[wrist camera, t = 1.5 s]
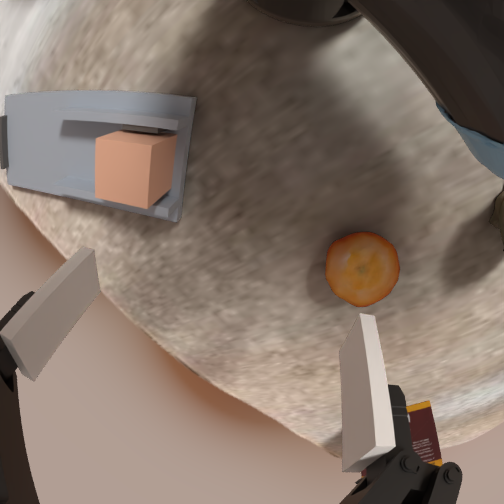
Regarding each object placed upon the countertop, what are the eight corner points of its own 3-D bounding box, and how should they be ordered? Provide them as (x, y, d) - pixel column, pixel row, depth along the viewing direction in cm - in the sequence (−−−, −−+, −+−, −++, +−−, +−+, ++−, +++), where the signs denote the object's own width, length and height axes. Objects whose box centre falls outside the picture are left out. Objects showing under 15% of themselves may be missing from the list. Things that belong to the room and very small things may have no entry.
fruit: (341, 306, 37) (336, 321, 29) (322, 246, 38) (311, 246, 30) (402, 286, 34) (412, 296, 26) (382, 224, 35) (387, 218, 27)
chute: (12, 94, 29) (-10, 99, 25) (196, 97, 28) (181, 99, 24) (14, 180, 36) (-6, 191, 32) (181, 217, 35) (166, 234, 31)
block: (127, 127, 29) (95, 138, 24) (177, 134, 29) (151, 145, 24) (124, 178, 32) (95, 197, 27) (171, 188, 32) (147, 209, 27)
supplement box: (425, 421, 52) (435, 480, 38) (360, 435, 56) (362, 496, 43) (430, 399, 47) (444, 466, 34) (357, 415, 52) (360, 485, 38)
